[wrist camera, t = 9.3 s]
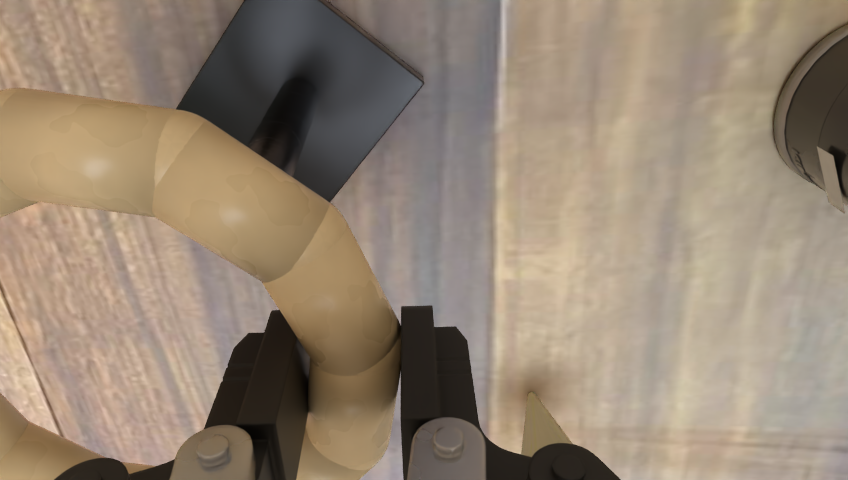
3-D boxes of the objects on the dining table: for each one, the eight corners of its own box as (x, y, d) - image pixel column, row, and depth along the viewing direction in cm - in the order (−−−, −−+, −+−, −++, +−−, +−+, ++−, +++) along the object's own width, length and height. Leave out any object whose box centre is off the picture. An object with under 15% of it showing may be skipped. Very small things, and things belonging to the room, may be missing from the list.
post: (273, -42, 29) (175, 11, 16) (423, 77, 32) (446, 205, 19) (179, 106, 32) (32, 255, 19) (324, 202, 35) (284, 387, 22)
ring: (-25, -61, 11) (-116, -48, 9) (508, 303, 14) (517, 363, 12) (-180, 361, 16) (-258, 422, 14) (243, 553, 19) (223, 621, 17)
